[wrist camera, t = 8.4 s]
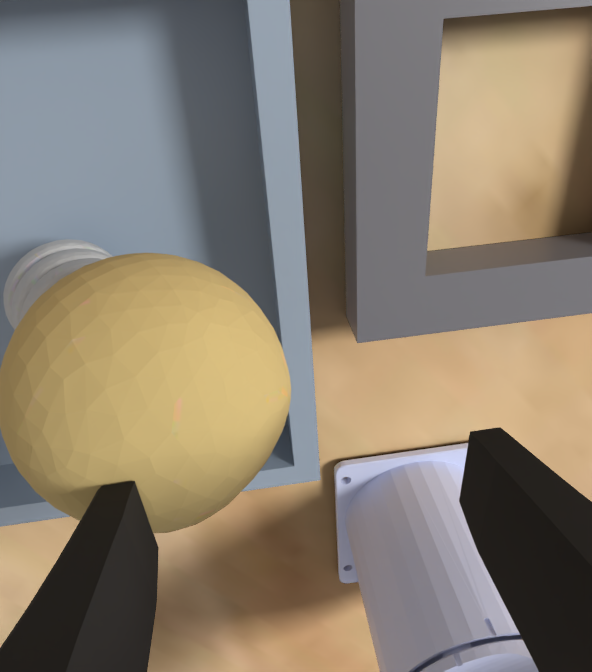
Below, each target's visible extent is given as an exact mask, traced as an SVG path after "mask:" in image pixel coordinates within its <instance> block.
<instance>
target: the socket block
mask: <svg viewBox="0 0 592 672" xmlns="http://www.w3.org/2000/svg"><path fill="white" fill-rule="evenodd" d="M584 6H592V0H340V38H341V87H342V136H343V184H344V233H345V282H346V317H347V319H348V322H349V324H350V327H351V329H352V331H353V334H354V336H355V339H356V341H357V343H362V342H370V341H378V340H385V339H393V338H401V337H409V336H417V335H424V334H432V333H440V332H448V331H456V330H464V329H471V328H479V327H487V326H495V325H503V324H511V323H518V322H526V321H534V320H542V319H550V318H557V317H565V316H573V315H581V314H589V313H592V232H589V233H581V234H572V235H564V236H555V237H547V238H538V239H530V240H521V241H512V242H504V243H495V244H487V245H478V246H470V247H461V248H453V249H444V250H435V251H427V244H428V230H429V216H430V202H431V188H432V174H433V160H434V145H435V131H436V117H437V103H438V89H439V75H440V61H441V47H442V33H443V19H445V18H457V17H468V16H480V15H491V14H503V13H515V12H526V11H538V10H550V9H561V8H573V7H584Z"/></svg>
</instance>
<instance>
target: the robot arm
mask: <svg viewBox="0 0 592 672" xmlns="http://www.w3.org/2000/svg"><path fill="white" fill-rule="evenodd" d="M344 477H347V478H344ZM334 482H335V505H336V528H337V551H338V574H339V579H340V581H341V582H342V583H354V582H358V583H359V587H360V591H361V595H362V599H363V603H364V608H365V612H366V616H367V620H368V624H369V628H370V633H371V637H372V641H373V645H374V649H375V653H376V657H377V662H378V666H379V670H380V672H592V502H591V501H590V500H588V499H587V498H586V497H585V496H583V495H582V494H581V493H579V492H578V491H577V490H576V489H575V488H573V487H572V486H571V485H570V484H568V483H567V482H566V481H565V480H563V479H562V478H561V477H560V476H558V475H557V474H556V473H555V472H554V471H552V470H551V469H550V468H549V467H548V466H546V465H545V464H544V463H543V462H541V461H540V460H539V459H538V458H537V457H535V456H534V455H533V454H532V453H531V452H529V451H528V450H527V449H526V448H525V447H523V446H522V445H521V444H520V443H519V442H517V441H516V440H515V439H514V438H513V437H511V436H510V435H509V434H508V433H506V432H505V431H504V430H503V429H502V428H493V429H486V430H479V431H472V432H470V436H469V442H468V443H464V444H457V445H450V446H443V447H436V448H429V449H422V450H415V451H408V452H401V453H394V454H387V455H380V456H373V457H366V458H359V459H352V460H345V461H341V462H339V463H337V464H336V465H335V467H334ZM157 578H158V546H157V543H156V540H155V537H154V534H153V531H152V529H151V526H150V523H149V520H148V517H147V514H146V512H145V509H144V506H143V503H142V500H141V497H140V495H139V492H138V489H137V486H136V483H135V481H130V482H123V483H116V484H110V485H103V486H101V487H100V488H99V489H98V490H97V492H96V494H95V496H94V497H93V499H92V501H91V503H90V505H89V506H88V508H87V510H86V512H85V513H84V515H83V517H82V519H81V520H80V522H79V524H78V526H77V528H76V529H75V531H74V533H73V534H72V536H71V538H70V540H69V541H68V543H67V545H66V546H65V548H64V550H63V551H62V553H61V555H60V556H59V558H58V560H57V561H56V563H55V565H54V566H53V568H52V569H51V571H50V573H49V574H48V576H47V577H46V579H45V581H44V582H43V584H42V586H41V587H40V589H39V590H38V592H37V594H36V595H35V597H34V598H33V600H32V602H31V603H30V605H29V606H28V608H27V609H26V611H25V612H24V614H23V615H22V617H21V618H20V620H19V621H18V623H17V624H16V626H15V627H14V629H13V630H12V631H11V633H10V634H9V636H8V637H7V639H6V640H5V642H4V643H3V645H2V646H1V648H0V672H147V667H148V660H149V653H150V646H151V639H152V632H153V625H154V618H155V610H156V602H157Z"/></svg>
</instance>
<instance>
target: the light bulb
mask: <svg viewBox="0 0 592 672" xmlns="http://www.w3.org/2000/svg"><path fill="white" fill-rule="evenodd" d="M3 297H4V308H5V313H6V316H7V318H8V320H9V322H10V324H11V325H12V327H13V328H14V330H15V331H14V333H13V335H12V338H11V340H10V342H9V345H8V347H7V349H6V352H5V354H4V357H3V361H2V365H1V369H0V428H1V433H2V437H3V439H4V442H5V444H6V447H7V449H8V451H9V454H10V456H11V459H12V461H13V462H14V464H15V466H16V467H17V469H18V471H19V472H20V474H21V475H22V476H23V477H24V478H25V480H26V481H27V482H28V483H29V484H30V486H31V487H32V488H33V489H34V491H35V492H36V493H38V494H39V495H40V496H41V497H42V498H44V499H45V500H46V501H47V502H48V503H50V504H51V505H52V506H53V507H54V508H56V509H58V510H60V511H62V512H64V513H65V514H67V515H69V516H71V517H73V518H75V519H77V520H81V519H82V517H83V515H84V513H85V512H86V510H87V508H88V506H89V505H90V503H91V501H92V499H93V497H94V496H95V494H96V492H97V490H98V489H99V488H100V487H101V486H103V485H110V484H116V483H123V482H130V481H135V483H136V486H137V489H138V492H139V495H140V497H141V500H142V503H143V506H144V509H145V512H146V514H147V517H148V520H149V523H150V526H151V529H152V531H153V533H168V532H172V531H176V530H180V529H183V528H186V527H189V526H193V525H196V524H198V523H199V522H201V521H203V520H205V519H207V518H208V517H210V516H212V515H213V514H215V513H216V512H218V511H219V510H221V509H222V508H224V507H225V506H226V505H228V504H229V503H230V502H231V501H232V500H233V499H234V498H235V497H236V496H237V495H238V494H239V493H240V492H241V491H242V490H243V489H244V488H245V487H246V486H247V485H248V484H249V483H250V482H251V481H252V480H253V479H254V478H255V476H256V475H257V474H258V472H259V471H260V470H261V468H262V467H263V466H264V464H265V463H266V461H267V460H268V458H269V457H270V455H271V453H272V451H273V449H274V447H275V445H276V443H277V441H278V439H279V437H280V435H281V433H282V431H283V428H284V425H285V422H286V419H287V415H288V412H289V407H290V400H291V382H290V375H289V370H288V366H287V363H286V359H285V356H284V352H283V349H282V346H281V344H280V342H279V339H278V337H277V335H276V332H275V330H274V328H273V327H272V325H271V324H270V322H269V321H268V319H267V318H266V316H265V315H264V313H263V312H262V310H261V309H260V307H259V306H258V305H257V304H256V303H255V302H254V300H253V299H252V298H251V297H250V296H249V295H248V293H247V292H245V291H244V290H243V289H242V288H241V287H240V286H238V285H237V284H236V283H234V282H233V281H232V280H230V279H229V278H227V277H226V276H225V275H223V274H222V273H220V272H219V271H217V270H215V269H213V268H210V267H208V266H206V265H204V264H202V263H200V262H197V261H194V260H190V259H187V258H183V257H179V256H176V255H169V254H160V253H132V254H124V255H119V256H114V257H113V256H112V255H111V254H109V253H108V252H107V251H105V250H104V249H102V248H100V247H99V246H97V245H95V244H92V243H90V242H86V241H82V240H72V239H65V240H56V241H53V242H49V243H46V244H43V245H40V246H38V247H36V248H35V249H33V250H31V251H29V252H28V253H27V254H26V255H25V256H23V257H22V258H21V259H20V260H19V261H18V263H17V264H16V265H15V266H14V267H13V269H12V271H11V272H10V274H9V276H8V278H7V281H6V283H5V288H4V292H3Z"/></svg>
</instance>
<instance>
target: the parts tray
mask: <svg viewBox="0 0 592 672" xmlns="http://www.w3.org/2000/svg"><path fill="white" fill-rule="evenodd" d="M65 239H72V240H82V241H86V242H90V243H92V244H95V245H97V246H99V247H100V248H102V249H104V250H105V251H107V252H108V253H109V254H111V255H112V256H113V257H114V256H119V255H124V254H132V253H160V254H169V255H176V256H179V257H183V258H187V259H190V260H194V261H197V262H200V263H202V264H204V265H206V266H208V267H210V268H213V269H215V270H217V271H219V272H220V273H222V274H223V275H225V276H226V277H227V278H229V279H230V280H232V281H233V282H234V283H236V284H237V285H238V286H240V287H241V288H242V289H243V290H244V291H245V292H247V293H248V295H249V296H250V297H251V298H252V299H253V300H254V302H255V303H256V304H257V305H258V306H259V307H260V309H261V310H262V312H263V313H264V315H265V316H266V318H267V319H268V321H269V322H270V324H271V325H272V327H273V328H274V330H275V332H276V335H277V337H278V339H279V342H280V344H281V346H282V349H283V352H284V356H285V359H286V363H287V366H288V370H289V375H290V382H291V400H290V407H289V412H288V415H287V419H286V422H285V425H284V428H283V431H282V433H281V435H280V437H279V439H278V441H277V443H276V445H275V447H274V449H273V451H272V453H271V455H270V457H269V458H268V460H267V461H266V463H265V464H264V466H263V467H262V468H261V470H260V471H259V472H258V474H257V475H256V476H255V478H254V479H253V480H252V481H251V482H250V483H249V484H248V485H247V486H246V487H245V488H244V489H243V490H242V491H248V490H255V489H262V488H269V487H276V486H283V485H290V484H297V483H304V482H310V481H317V480H320V465H319V450H318V434H317V419H316V403H315V387H314V372H313V356H312V341H311V325H310V310H309V294H308V278H307V263H306V247H305V232H304V216H303V201H302V185H301V170H300V154H299V138H298V123H297V107H296V92H295V76H294V61H293V45H292V29H291V14H290V0H0V369H1V365H2V361H3V357H4V354H5V352H6V349H7V347H8V345H9V342H10V340H11V338H12V335H13V333H14V331H15V330H14V328H13V327H12V325H11V324H10V322H9V320H8V318H7V316H6V313H5V308H4V297H3V292H4V288H5V283H6V281H7V278H8V276H9V274H10V272H11V271H12V269H13V267H14V266H15V265H16V264H17V263H18V261H19V260H20V259H21V258H22V257H23V256H25V255H26V254H27V253H28V252H29V251H31V250H33V249H35V248H36V247H38V246H40V245H43V244H46V243H49V242H53V241H56V240H65ZM242 491H241V492H242ZM62 517H69V515H67V514H65V513H64V512H62V511H60V510H58V509H56V508H54V507H53V506H52V505H51V504H50V503H48V502H47V501H46V500H45V499H44V498H42V497H41V496H40V495H39V494H38V493H36V492H35V491H34V489H33V488H32V487H31V486H30V484H29V483H28V482H27V481H26V480H25V478H24V477H23V476H22V475H21V474H20V472H19V471H18V469H17V467H16V466H15V464H14V462H13V461H12V459H11V456H10V454H9V451H8V449H7V447H6V444H5V442H4V439H3V437H2V433H1V428H0V526H7V525H14V524H21V523H28V522H35V521H42V520H49V519H56V518H62Z"/></svg>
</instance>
